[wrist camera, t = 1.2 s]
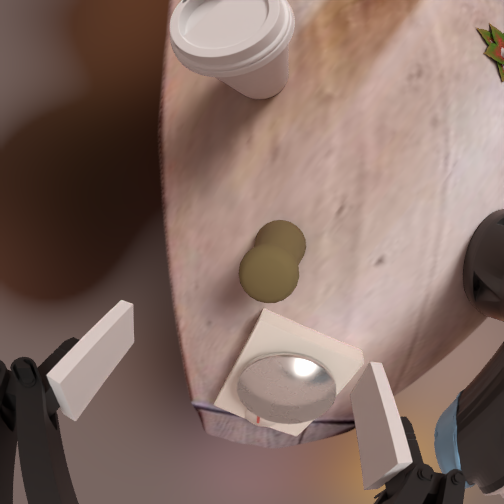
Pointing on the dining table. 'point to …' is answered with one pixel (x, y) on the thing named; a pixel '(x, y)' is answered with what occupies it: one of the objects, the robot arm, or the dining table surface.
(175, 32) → the coffee cup
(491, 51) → the lily flower
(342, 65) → the dining table surface
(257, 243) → the cork
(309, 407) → the pan
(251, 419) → the scale base
